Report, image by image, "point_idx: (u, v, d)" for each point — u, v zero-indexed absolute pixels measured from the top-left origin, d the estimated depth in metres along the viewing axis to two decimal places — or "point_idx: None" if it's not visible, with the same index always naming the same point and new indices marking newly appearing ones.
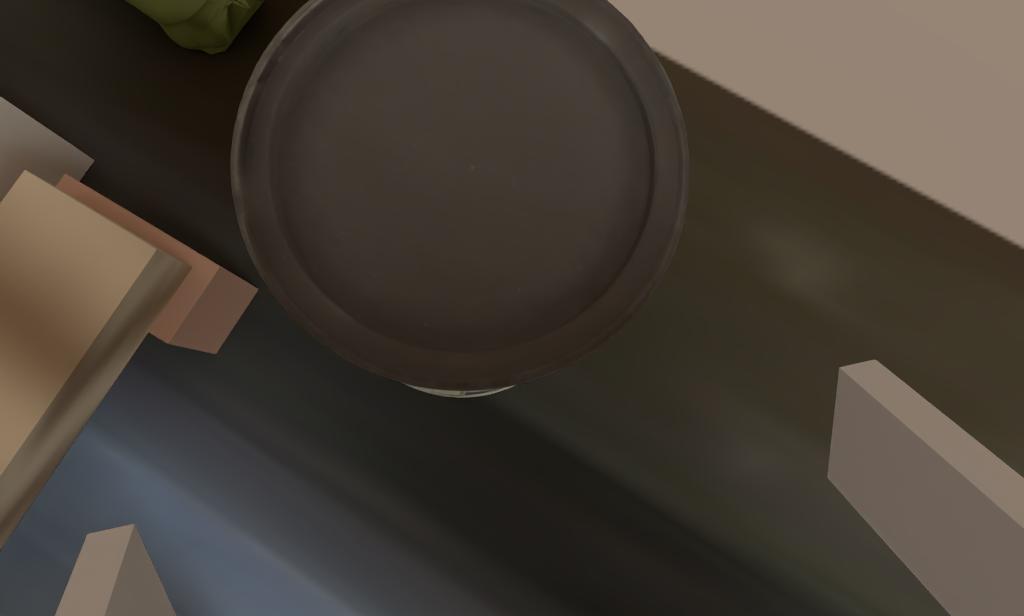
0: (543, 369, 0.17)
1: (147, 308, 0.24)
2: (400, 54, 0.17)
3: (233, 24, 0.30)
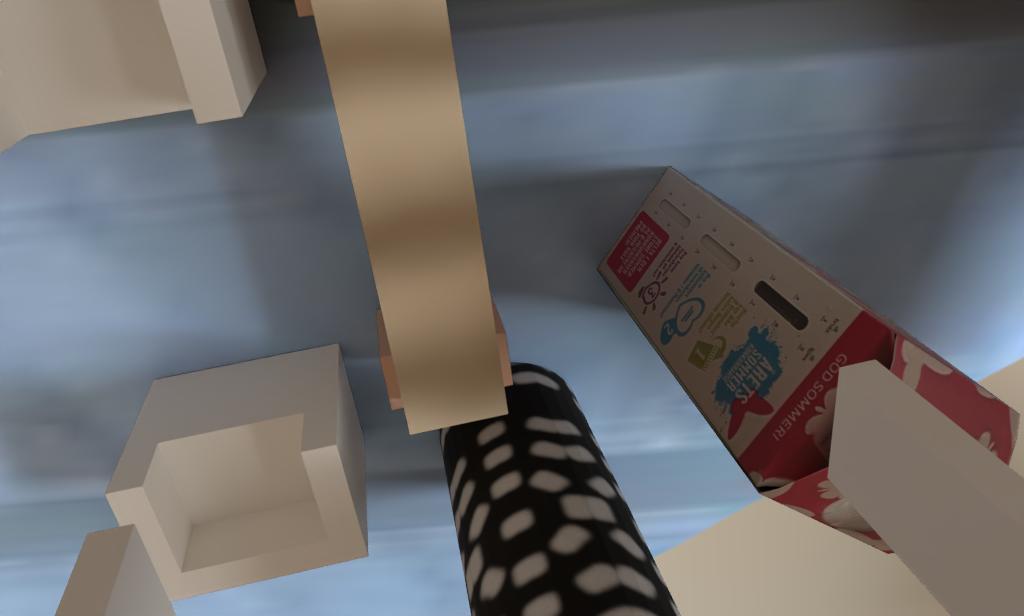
0: None
1: None
2: None
3: None
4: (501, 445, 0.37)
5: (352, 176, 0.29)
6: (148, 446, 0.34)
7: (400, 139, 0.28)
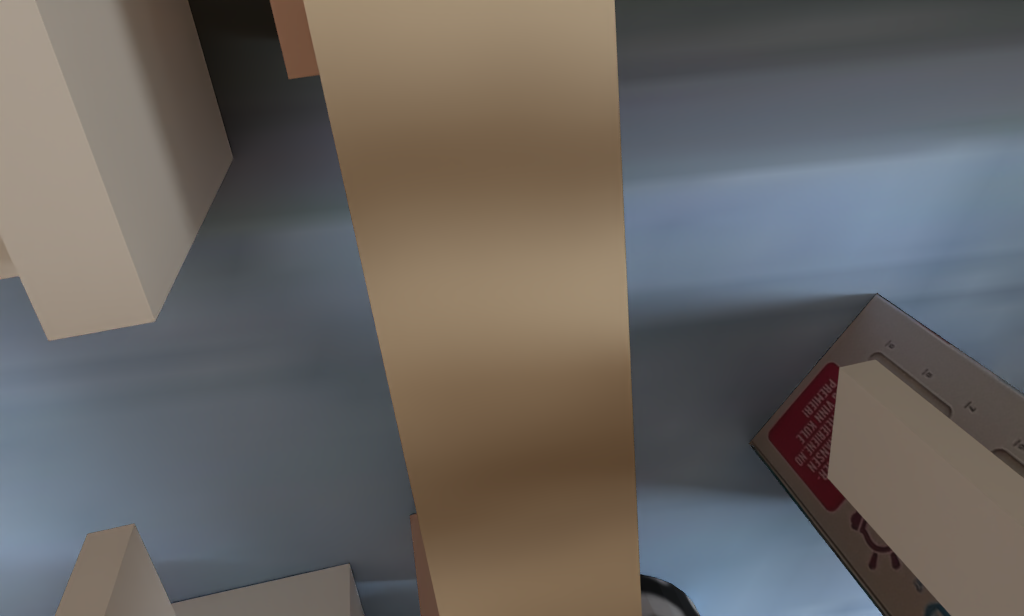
0: None
1: None
2: None
3: None
4: None
5: (396, 407, 0.14)
6: None
7: (496, 336, 0.14)
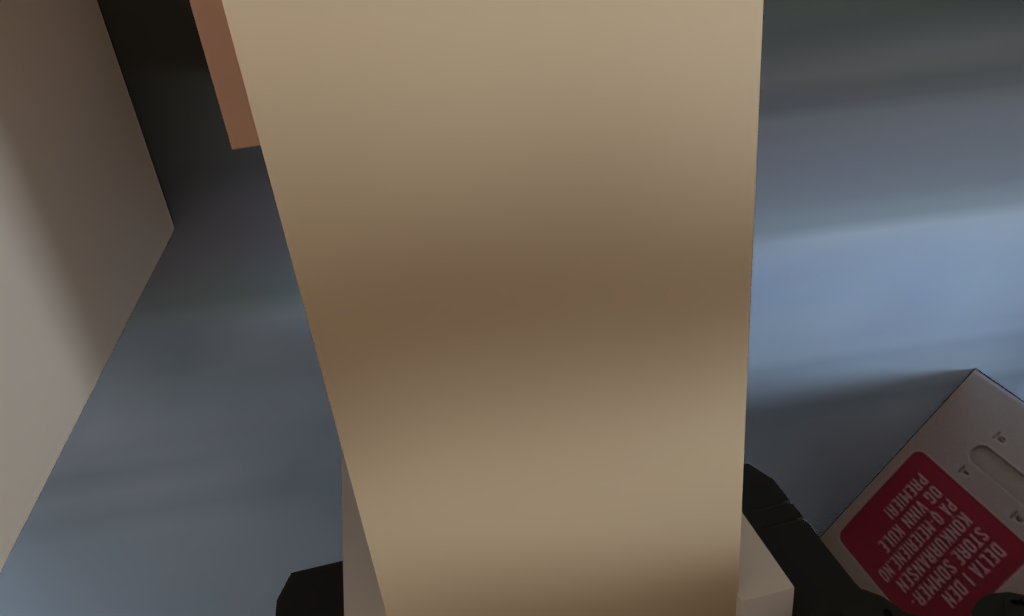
0: None
1: None
2: None
3: None
4: None
5: None
6: None
7: (550, 537, 0.09)
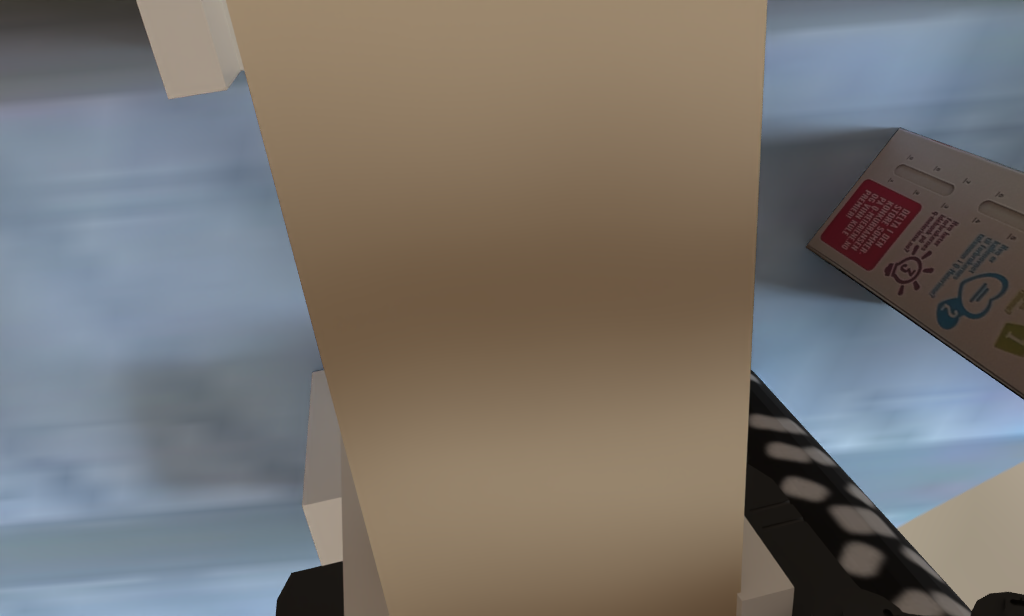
0: None
1: None
2: None
3: None
4: None
5: None
6: (335, 449, 0.29)
7: (552, 535, 0.09)
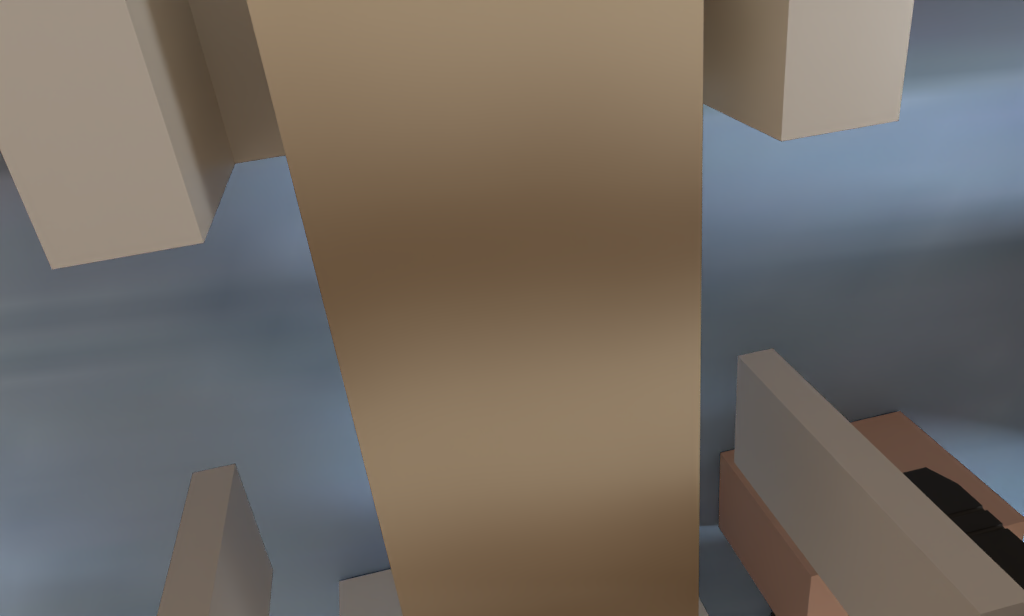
0: None
1: None
2: None
3: None
4: None
5: (393, 561, 0.10)
6: None
7: (527, 467, 0.10)
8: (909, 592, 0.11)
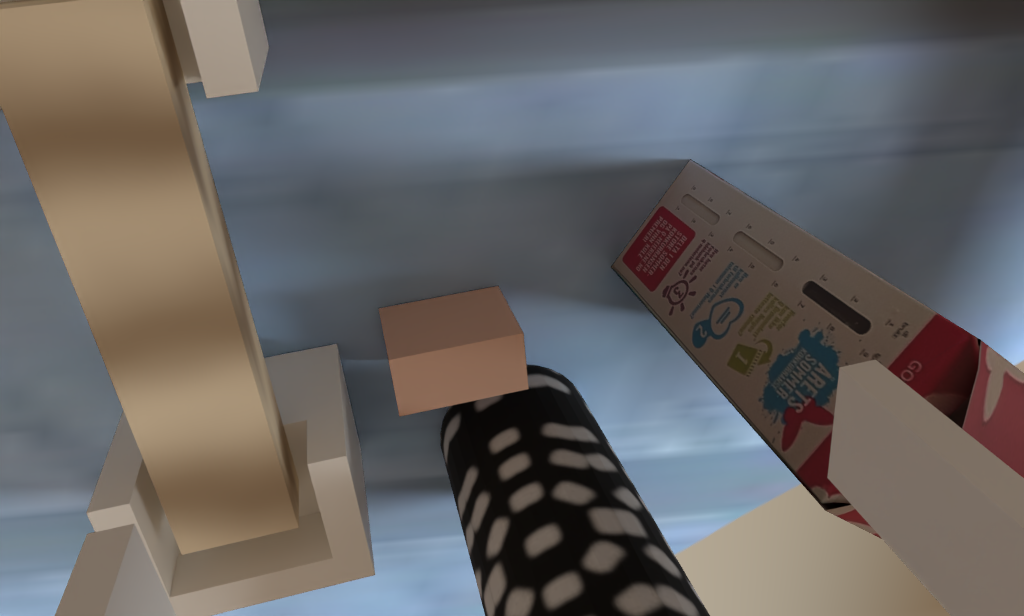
0: None
1: (169, 49, 0.24)
2: None
3: None
4: (516, 453, 0.34)
5: (72, 279, 0.24)
6: (133, 458, 0.31)
7: (128, 237, 0.24)
8: None
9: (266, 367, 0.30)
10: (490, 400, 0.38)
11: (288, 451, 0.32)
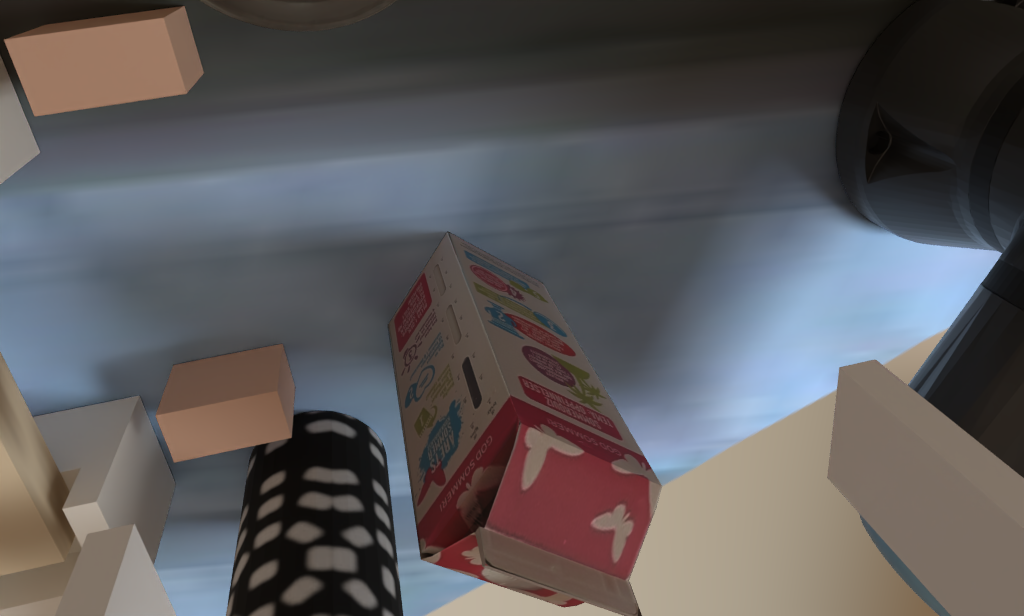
0: None
1: None
2: None
3: None
4: (276, 495, 0.39)
5: None
6: None
7: None
8: None
9: (35, 425, 0.36)
10: (277, 444, 0.43)
11: (65, 494, 0.37)
